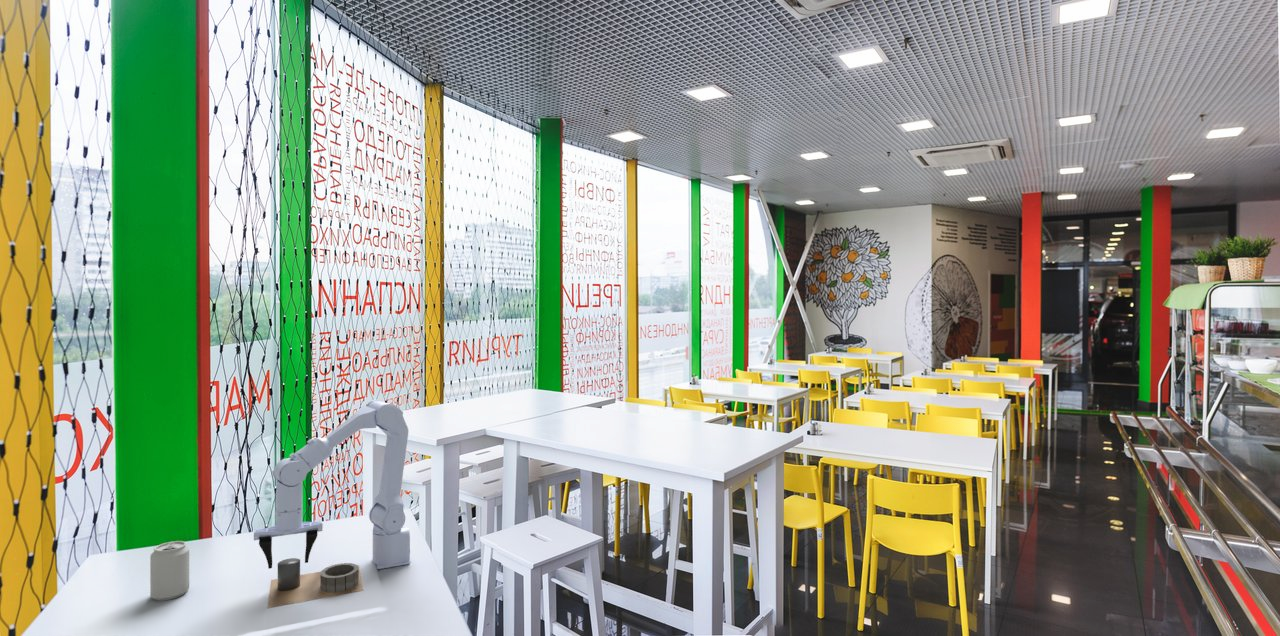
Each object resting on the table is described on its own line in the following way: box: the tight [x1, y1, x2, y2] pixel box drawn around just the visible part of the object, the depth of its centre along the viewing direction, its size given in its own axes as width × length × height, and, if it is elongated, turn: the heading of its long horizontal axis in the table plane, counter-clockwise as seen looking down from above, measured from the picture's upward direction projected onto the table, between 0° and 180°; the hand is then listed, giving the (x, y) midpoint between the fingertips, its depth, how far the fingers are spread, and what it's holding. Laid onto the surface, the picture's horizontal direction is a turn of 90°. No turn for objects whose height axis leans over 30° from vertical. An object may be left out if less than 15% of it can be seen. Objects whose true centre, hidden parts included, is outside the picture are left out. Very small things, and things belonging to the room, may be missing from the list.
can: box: [149, 540, 190, 601], centre depth 148 cm, size 8×8×12 cm
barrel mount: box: [267, 562, 364, 609], centre depth 152 cm, size 20×16×4 cm
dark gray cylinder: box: [277, 557, 301, 591], centre depth 151 cm, size 5×5×6 cm
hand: (288, 564), depth 151 cm, fingers open, 7 cm apart
